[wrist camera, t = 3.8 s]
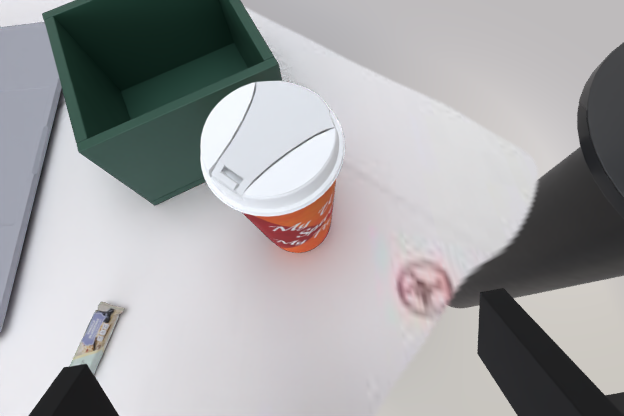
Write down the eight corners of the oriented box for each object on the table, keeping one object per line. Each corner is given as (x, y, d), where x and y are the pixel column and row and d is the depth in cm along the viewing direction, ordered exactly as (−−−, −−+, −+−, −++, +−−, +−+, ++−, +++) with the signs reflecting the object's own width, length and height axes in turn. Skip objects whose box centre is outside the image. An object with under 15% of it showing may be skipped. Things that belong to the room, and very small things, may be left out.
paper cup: (307, 284, 28) (279, 239, 15) (238, 232, 30) (158, 152, 17) (360, 210, 29) (378, 113, 16) (292, 166, 32) (258, 48, 18)
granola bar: (89, 396, 26) (79, 399, 25) (64, 387, 26) (53, 389, 25) (128, 308, 28) (120, 307, 27) (104, 300, 28) (95, 299, 27)
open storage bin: (295, 139, 33) (278, 63, 23) (154, 205, 31) (78, 152, 22) (240, 41, 38) (208, -53, 28) (116, 94, 36) (41, 13, 27)
